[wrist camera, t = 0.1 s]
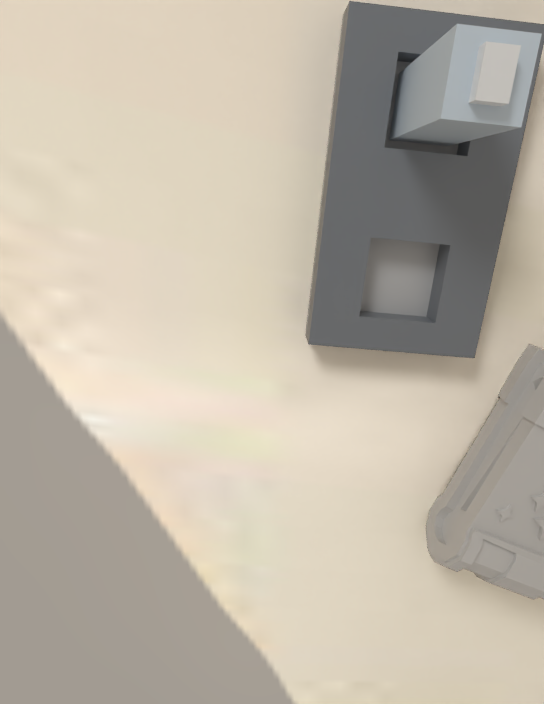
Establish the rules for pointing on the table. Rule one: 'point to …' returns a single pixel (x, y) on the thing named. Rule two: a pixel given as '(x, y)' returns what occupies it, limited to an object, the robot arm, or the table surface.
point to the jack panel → (405, 201)
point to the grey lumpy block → (499, 491)
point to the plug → (465, 86)
